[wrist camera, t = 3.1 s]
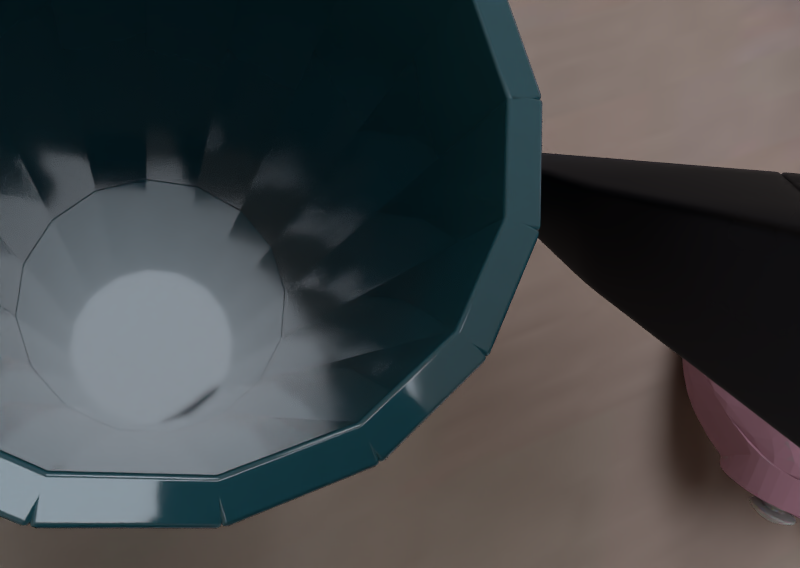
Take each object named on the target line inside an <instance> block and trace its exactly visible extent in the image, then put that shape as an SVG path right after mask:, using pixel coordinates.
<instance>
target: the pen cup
mask: <svg viewBox="0 0 800 568" xmlns="http://www.w3.org/2000/svg"><path fill="white" fill-rule="evenodd" d="M540 98H541V94H540V91H539V88H538V85H537V82H536V79H535V76H534V73H533V71H532V68H531V65H530V62H529V59H528V56H527V53H526V51H525V48H524V45H523V42H522V39H521V36H520V33H519V31H518V28H517V25H516V22H515V19H514V16H513V13H512V11H511V8H510V5H509V2H508V0H0V517H2V518H5V519H7V520H9V521H12V522H14V523H17V524H19V525H28V524H29V523H30V525H31V526H32V527H34V528H140V529H216V528H219V527H221V525H223V526H230V525H233V524H235V523H238V522H240V521H243V520H245V519H248V518H250V517H253V516H255V515H257V514H260V513H262V512H265V511H267V510H270V509H272V508H275V507H277V506H280V505H282V504H285V503H287V502H289V501H292V500H294V499H297V498H299V497H302V496H304V495H307V494H309V493H312V492H314V491H317V490H319V489H322V488H324V487H326V486H329V485H331V484H334V483H336V482H339V481H341V480H344V479H346V478H349V477H351V476H354V475H356V474H358V473H361V472H363V471H366V470H368V469H371V468H373V467H375V466H377V465H378V464H379V462H382V461H384V460H386V459H387V458H388V457H389V456H390V455H391V454H392V453H393V452H394V451H395V450H396V449H397V448H398V447H399V446H400V445H401V444H402V443H403V442H404V441H405V440H406V439H407V438H408V437H409V436H410V435H411V434H412V433H413V432H414V431H415V430H416V429H417V428H418V427H419V426H420V425H421V424H422V423H423V422H424V421H425V420H426V419H427V418H428V417H429V416H430V415H431V414H432V413H433V412H434V411H435V410H436V409H437V408H438V407H439V406H440V405H441V404H442V403H443V402H444V401H445V400H446V399H447V398H448V397H449V396H450V395H451V394H452V393H453V392H454V391H455V390H456V389H457V388H458V387H459V386H460V385H461V384H462V383H463V382H464V381H465V380H466V379H467V378H468V377H469V376H470V375H471V374H472V373H474V372H475V371H476V370H477V369H478V368H479V367H480V366H481V365H482V364H483V363H484V361H485V359H486V356H488V355H489V354H490V351H491V349H492V347H493V344H494V342H495V339H496V337H497V335H498V332H499V330H500V327H501V325H502V323H503V320H504V318H505V315H506V313H507V311H508V308H509V306H510V303H511V301H512V299H513V296H514V294H515V291H516V289H517V286H518V284H519V282H520V279H521V277H522V274H523V272H524V270H525V267H526V265H527V262H528V260H529V258H530V255H531V253H532V250H533V248H534V246H535V243H536V241H537V238H538V236H539V232H538V230H539V229H540V226H541V161H542V101H541V100H540Z"/></svg>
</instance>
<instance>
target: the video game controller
mask: <svg viewBox="0 0 800 568" xmlns="http://www.w3.org/2000/svg"><path fill="white" fill-rule="evenodd" d="M682 361H683V372H684V378H685V383H686V388H687V393H688V396H689V399H690V401H691V404H692V407H693V409H694V412H695V414H696V416H697V417H698V419H699V421H700V423H701V425H702V427H703V429H704V431H705V432H706V434H707V436H708V437H709V439H710V440H711V442H712V443H713V445H714V446H715V448H716V449H717V451H718V452H719V454H720V455H721V458H720V466H721V468H722V469H723V471H724V472H725V473H726V474H727V475H728V476H729V477H730V478H731V479H733V480H734V481H735V482H736V483H738V484H739V485H740V486H741V487H743V488H744V489H745V490H747V491H748V492H750V493H752V494H753V495H755V496H753V497H749V501H750V503H751V505H752V506H753V507H754V509H755V510H756V511H757V512H758V514H759V515H760V516H762V517H763V518H765V519H767V520H768V521H770V522H773V523H776V524H782V525H794V524H795V523H796V519H795V518H794V517H793V516H796V517H798V518H800V448H799V447H798V446H796V445H795V444H794V443H792V442H791V441H790V440H789V439H787V438H786V437H785V436H783V435H782V434H781V433H779V432H778V431H777V430H776V429H774V428H773V427H772V426H770V425H769V424H768V423H766V422H765V421H764V420H763V419H761V418H760V417H759V416H757V415H756V414H755V413H753V412H752V411H751V410H749V409H748V408H747V407H746V406H744V405H743V404H742V403H740V402H739V401H738V400H736V399H735V398H734V397H733V396H731V395H730V394H729V393H727V392H726V391H725V390H723V389H722V388H721V387H720V386H718V385H717V384H716V383H714V382H713V381H712V380H710V379H709V378H708V377H707V376H705V375H704V374H703V373H701V372H700V371H699V370H697V369H696V368H695V367H694V366H692V365H691V364H690V363H688V362H687V361H686V360H684V359H683V358H682ZM792 515H793V516H792Z"/></svg>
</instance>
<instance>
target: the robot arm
mask: <svg viewBox="0 0 800 568" xmlns="http://www.w3.org/2000/svg"><path fill="white" fill-rule="evenodd" d="M538 232H539V236H538V238H539V239H540V240H541V241H542V242H543V243H544V244H545V245H546V246H547V247H548V248H549V249H550V250H551V251H552V252H553V253H554V254H555V255H556V256H557V257H558V258H559V259H561V260H562V261H563V262H564V263H565V264H566V265H567V266H568V267H569V268H570V269H571V270H572V271H573V272H574V273H575V274H576V275H577V276H578V277H580V278H581V279H582V280H583V281H584V282H585V283H586V284H588V285H589V286H590V287H591V288H592V289H594V290H595V291H596V292H597V293H599V294H600V295H601V296H603V297H604V298H605V299H606V300H608V301H609V302H610V303H612V304H613V305H614V306H616V307H617V308H618V309H619V310H621V311H622V312H623V313H625V314H626V315H627V316H629V317H630V318H631V319H632V320H634V321H635V322H636V323H638V324H639V325H640V326H642V327H643V328H644V329H645V330H647V331H648V332H649V333H651V334H652V335H653V336H655V337H656V338H657V339H658V340H660V341H661V342H662V343H664V344H665V345H666V346H668V347H669V348H670V349H671V350H673V351H674V352H675V353H677V354H678V355H679V356H681V357H682V358H683V359H684V360H686V361H687V362H688V363H690V364H691V365H692V366H694V367H695V368H696V369H697V370H699V371H700V372H701V373H703V374H704V375H705V376H707V377H708V378H709V379H710V380H712V381H713V382H714V383H716V384H717V385H718V386H720V387H721V388H722V389H723V390H725V391H726V392H727V393H729V394H730V395H731V396H733V397H734V398H735V399H736V400H738V401H739V402H740V403H742V404H743V405H744V406H746V407H747V408H748V409H749V410H751V411H752V412H753V413H755V414H756V415H757V416H759V417H760V418H761V419H763V420H764V421H765V422H766V423H768V424H769V425H770V426H772V427H773V428H774V429H776V430H777V431H778V432H779V433H781V434H782V435H783V436H785V437H786V438H787V439H789V440H790V441H791V442H792V443H794V444H795V445H796V446H798V447H799V448H800V174H797V173H782V174H780V173H779V172H772V171H759V170H747V169H734V168H722V167H710V166H697V165H685V164H673V163H660V162H648V161H635V160H623V159H611V158H598V157H586V156H574V155H561V154H549V153H542V161H541V226H540V229H539V230H538Z"/></svg>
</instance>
